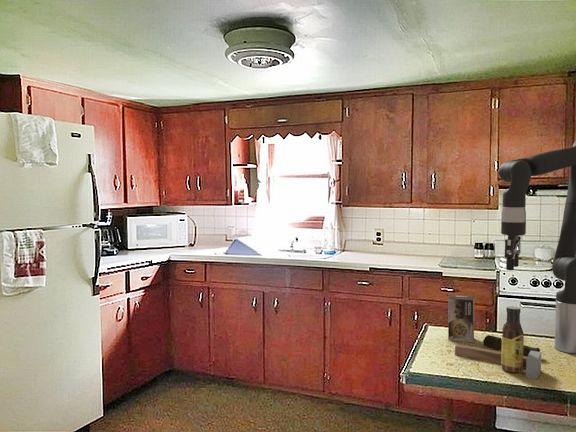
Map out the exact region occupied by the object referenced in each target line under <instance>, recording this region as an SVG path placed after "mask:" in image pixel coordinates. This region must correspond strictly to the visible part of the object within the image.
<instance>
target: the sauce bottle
mask: <svg viewBox="0 0 576 432" xmlns="http://www.w3.org/2000/svg"><path fill="white" fill-rule="evenodd" d="M521 313H522V312H521V307H518V306H513V305H512V306H506V322H505V323H504V324H503V326H502V334H501V340H502V350H500V352H501V363H500V364H501V369H502V370H503V371H505V372H508V373H521V372H523V345H525V344H524V340H525V337H524V335H525V334H524V330H523V327H522V324H521V315H520V314H521Z"/></svg>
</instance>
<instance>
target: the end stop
mask: <svg viewBox="0 0 576 432" xmlns="http://www.w3.org/2000/svg"><path fill="white" fill-rule="evenodd" d="M525 370H526V371H525V373H526V374H525V378H527V379H533V380H538V379H539V377H540V374H541V372H542V352H541V351H540V352H537V351H530V353H529V355H528V356H527V361H526V368H525Z"/></svg>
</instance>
